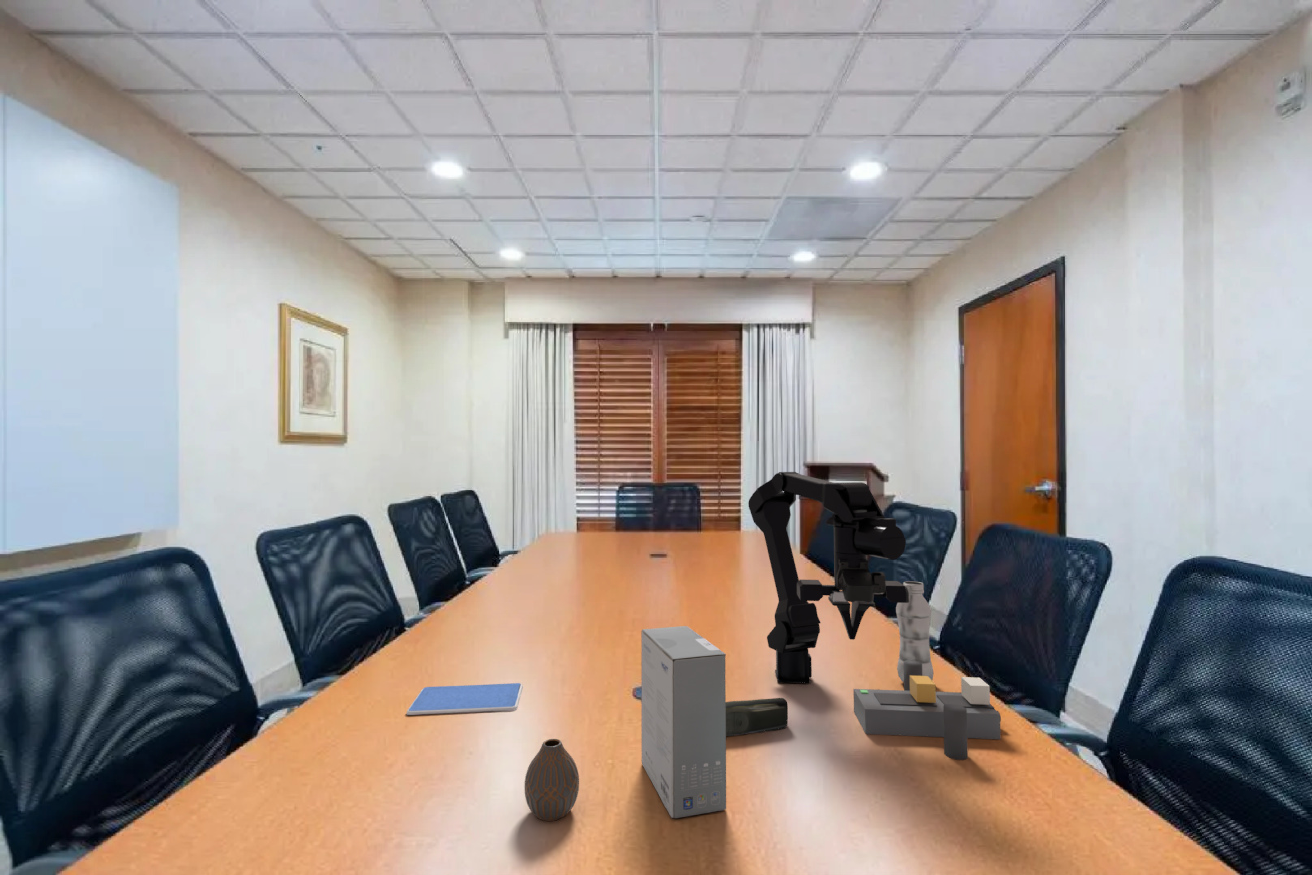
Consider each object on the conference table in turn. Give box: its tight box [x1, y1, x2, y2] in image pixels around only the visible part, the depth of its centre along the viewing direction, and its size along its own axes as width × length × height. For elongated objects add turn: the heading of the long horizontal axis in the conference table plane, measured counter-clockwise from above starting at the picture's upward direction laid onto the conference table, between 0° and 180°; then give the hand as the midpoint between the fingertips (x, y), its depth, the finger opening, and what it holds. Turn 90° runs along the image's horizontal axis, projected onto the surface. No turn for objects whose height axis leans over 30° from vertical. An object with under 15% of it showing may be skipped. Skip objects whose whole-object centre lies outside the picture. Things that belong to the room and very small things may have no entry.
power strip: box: [853, 688, 1002, 740], centre depth 105 cm, size 23×9×4 cm, turn 84°
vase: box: [524, 738, 580, 822], centre depth 80 cm, size 7×7×9 cm
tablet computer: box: [406, 682, 524, 716], centre depth 117 cm, size 19×13×1 cm, turn 97°
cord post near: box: [943, 704, 969, 761], centre depth 95 cm, size 3×3×7 cm
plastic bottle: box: [895, 580, 934, 683], centre depth 124 cm, size 6×7×20 cm
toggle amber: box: [910, 675, 937, 703], centre depth 105 cm, size 3×4×3 cm
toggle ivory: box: [960, 676, 991, 705], centre depth 104 cm, size 3×4×3 cm
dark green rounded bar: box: [726, 697, 789, 737], centre depth 103 cm, size 5×3×15 cm
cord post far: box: [903, 660, 922, 691], centre depth 115 cm, size 3×3×7 cm
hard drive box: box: [640, 625, 727, 819], centre depth 86 cm, size 16×8×20 cm, turn 17°
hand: (851, 638), depth 112 cm, fingers closed
